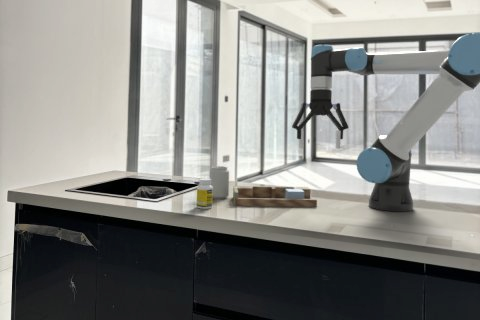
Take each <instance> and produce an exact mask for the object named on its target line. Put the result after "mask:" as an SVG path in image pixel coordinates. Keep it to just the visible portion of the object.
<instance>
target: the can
mask: <svg viewBox="0 0 480 320" xmlns="http://www.w3.org/2000/svg"><path fill="white" fill-rule="evenodd" d="M209 179H211V184H210V185H211V186H212V187H213V198H212V199H215V200H223V199H226V198H228V197H229V192H230V171H229V169H228V166H220V165H219V166H218V165H217V166H216V165H215V166H211V169H210V170H209Z"/></svg>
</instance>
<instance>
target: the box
mask: <svg viewBox="0 0 480 320" xmlns="http://www.w3.org/2000/svg"><path fill="white" fill-rule="evenodd" d="M285 189H302V190H303V191H304V192H305V193H304V199H285ZM232 191H233V193H232V197H233V205H234V207H235V206H236V207H238V206H239V207H240V206H241V207H247V206H248V207H297V208H298V207H299V208H300V207H303V208H304V207H305V208H306V207H309V208H315V207H316V208H317V206H318V200H317V198H316V199H314V198H313V199H312V198H311V188H310V187H308V186H266V185H265V186H263V185H261V186H260V185H258V186H257V185H256V186H255V185H252V186H251V185H250V186H249V185H233V189H232Z"/></svg>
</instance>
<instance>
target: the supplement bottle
mask: <svg viewBox="0 0 480 320" xmlns="http://www.w3.org/2000/svg"><path fill="white" fill-rule="evenodd" d="M198 183H199V184H198V185H197V186H196V208H198V209H203V210H208V209H212V208H213V199H214V198H213V187H212V186H211V185H210V184H211V179H210V178H206V177H205V178H200V179H199V180H198Z"/></svg>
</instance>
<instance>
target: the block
mask: <svg viewBox="0 0 480 320" xmlns="http://www.w3.org/2000/svg"><path fill="white" fill-rule="evenodd" d="M304 193H305V192H304V191H303V190H302V189H285V199H304Z"/></svg>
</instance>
